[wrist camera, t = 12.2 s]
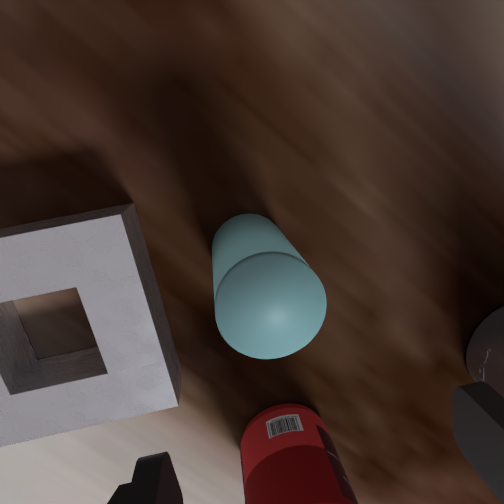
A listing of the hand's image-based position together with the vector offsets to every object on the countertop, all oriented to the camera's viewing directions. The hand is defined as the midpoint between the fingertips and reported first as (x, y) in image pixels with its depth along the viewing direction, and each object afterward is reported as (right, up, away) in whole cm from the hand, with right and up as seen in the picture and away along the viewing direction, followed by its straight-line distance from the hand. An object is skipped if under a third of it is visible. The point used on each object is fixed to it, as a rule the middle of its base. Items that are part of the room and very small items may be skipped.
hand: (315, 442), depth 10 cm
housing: (-16, +1, +16) cm, 23 cm away
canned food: (+1, -11, +23) cm, 25 cm away
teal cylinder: (-2, +5, +17) cm, 18 cm away
